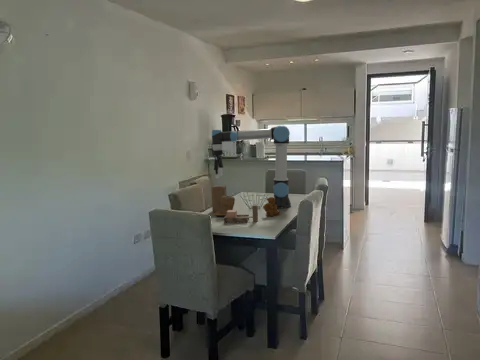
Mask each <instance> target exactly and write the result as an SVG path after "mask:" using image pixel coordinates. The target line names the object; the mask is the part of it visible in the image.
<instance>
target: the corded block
mask: <svg viewBox="0 0 480 360" xmlns="http://www.w3.org/2000/svg"><path fill="white" fill-rule="evenodd" d="M251 208H252V216H250V215H249V216H248V217H237V215H238V212H237V209H233V210H228V211H227V218H249V219H252V222H255V223H256V222H258V220H259V211H258V204H256V203H255V204H252V207H251Z"/></svg>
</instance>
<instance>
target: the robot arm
mask: <svg viewBox="0 0 480 360" xmlns="http://www.w3.org/2000/svg"><path fill="white" fill-rule="evenodd" d="M290 134H291V133H290V130H289V128H288V127H287V126H285V125H277V126H271V127H269V128H262V129H261V128H259V129H246V130H243V129H242V130H230V131H222V129H212V130H211V144H212V145H211V147H212V155H213V156H214V164H213V165H214V167H213V171H214V176H215V177H214V178H215V179H216V180H217V179H220V177H223V174H224V173H223V168H224V165H223V159H222V155H223V153H224V152H223V143H225V142H228V143H229V142H230V143H231V142H237V141H246V140H247V141H248V140H249V141H250V140H252V141H253V140H264V139H265V140H266V139H267V140H268V139H270V140H271V141H272V140H273V145H274V147H275V177H274V178H273V181H272V183H273V184H272V185H273V187H272V192H273V198H275V200H276V201H275V204H276V205H277V209H287V208H288V209H289V208H290V207H291V206H292V203H291V200H290V197H289V191H290V188H289V187H290V186H289V184H290V182H289V181H290V180H289V178H288V175H287V174H288V173H287V172H288V145H289V144H290Z"/></svg>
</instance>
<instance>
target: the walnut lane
mask: <svg viewBox="0 0 480 360" xmlns="http://www.w3.org/2000/svg"><path fill="white" fill-rule="evenodd" d="M248 216H250V215H249V214H237V217H248ZM249 220H250V218H227V215H226V216H224V218H223V223H224V224H247V223H248V222H249Z"/></svg>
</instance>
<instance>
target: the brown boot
mask: <svg viewBox="0 0 480 360" xmlns="http://www.w3.org/2000/svg"><path fill="white" fill-rule="evenodd" d="M235 201H236V199H235V197H234V196H230V195H227V196H222V197H221V206H222V210H221V211H216V212H213V215H214V216H217V217H225V216H226V215H227V211H228V210H234V207H235Z"/></svg>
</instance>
